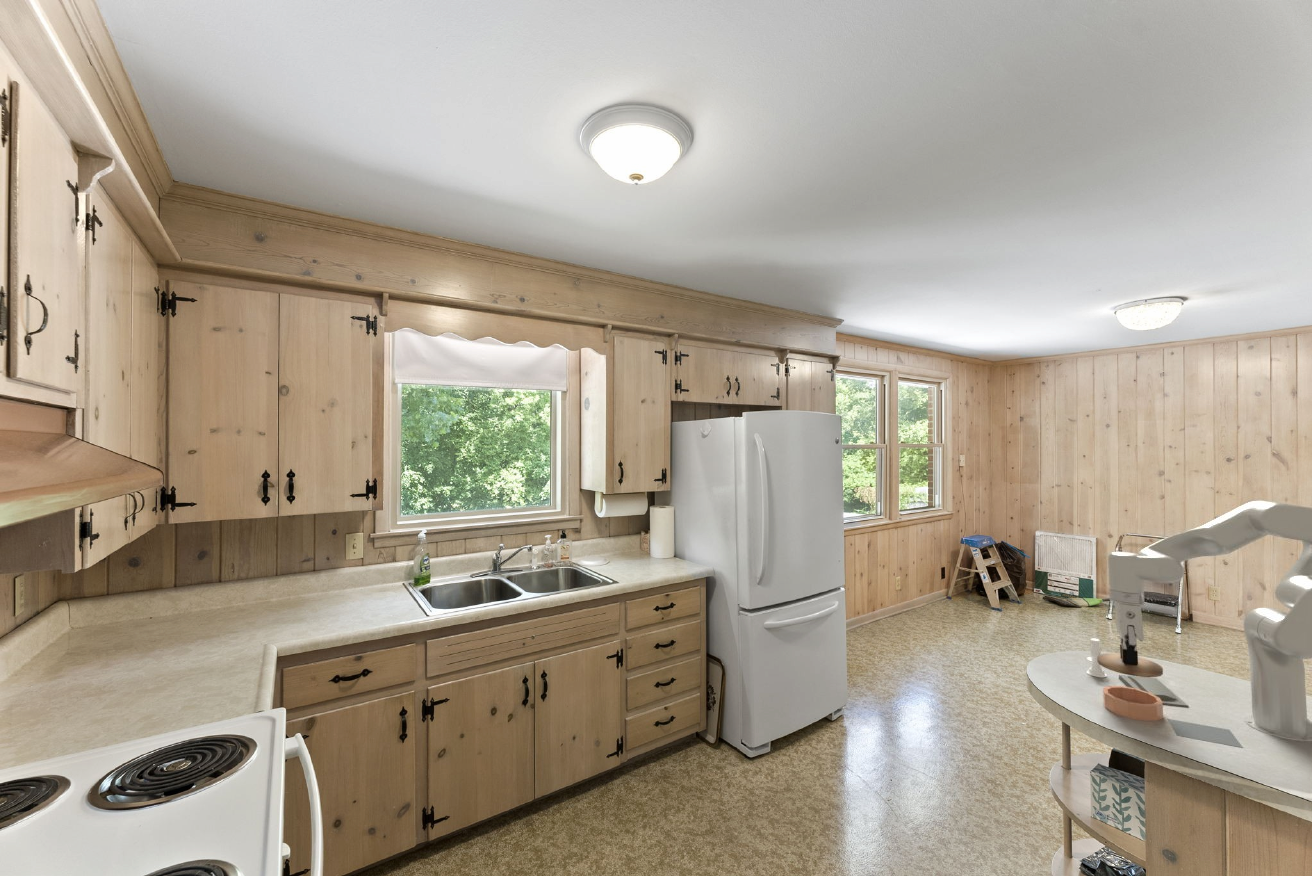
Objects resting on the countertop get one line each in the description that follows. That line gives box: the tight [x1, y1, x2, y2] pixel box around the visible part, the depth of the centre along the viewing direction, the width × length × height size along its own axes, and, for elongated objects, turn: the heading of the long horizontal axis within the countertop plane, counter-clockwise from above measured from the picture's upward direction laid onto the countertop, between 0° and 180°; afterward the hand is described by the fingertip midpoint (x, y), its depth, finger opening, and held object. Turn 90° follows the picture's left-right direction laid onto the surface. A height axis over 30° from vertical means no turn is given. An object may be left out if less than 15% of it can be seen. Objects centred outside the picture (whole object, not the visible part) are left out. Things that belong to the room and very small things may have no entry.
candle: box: [1086, 637, 1108, 678], centre depth 181 cm, size 5×5×12 cm
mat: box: [1167, 718, 1244, 749], centre depth 142 cm, size 12×10×1 cm
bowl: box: [1102, 685, 1164, 722], centre depth 155 cm, size 12×12×5 cm
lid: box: [1097, 643, 1164, 678], centre depth 155 cm, size 14×14×6 cm
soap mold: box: [1118, 674, 1190, 708], centre depth 166 cm, size 10×20×4 cm, turn 157°
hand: (1129, 661), depth 155 cm, fingers closed on lid, 3 cm apart
